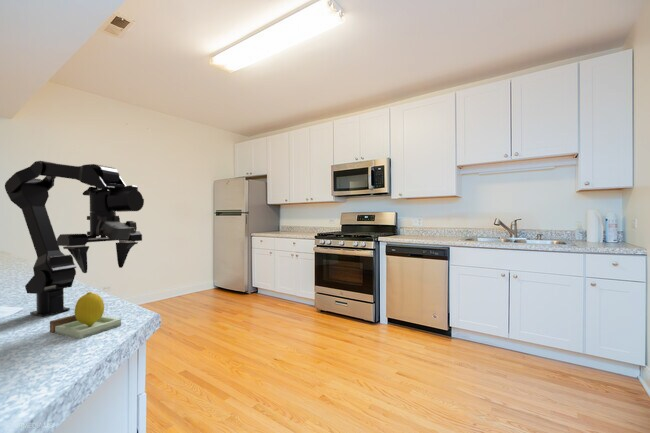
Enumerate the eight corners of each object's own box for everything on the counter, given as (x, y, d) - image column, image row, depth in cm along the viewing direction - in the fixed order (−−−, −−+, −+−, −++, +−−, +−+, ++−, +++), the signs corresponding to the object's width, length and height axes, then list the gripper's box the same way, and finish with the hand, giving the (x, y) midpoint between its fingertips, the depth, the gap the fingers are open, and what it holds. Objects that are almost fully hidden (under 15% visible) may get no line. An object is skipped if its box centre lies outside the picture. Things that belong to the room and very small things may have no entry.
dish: (55, 333, 71) (55, 326, 71) (97, 321, 79) (97, 315, 79) (79, 338, 67) (79, 331, 67) (121, 325, 75) (121, 319, 75)
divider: (49, 332, 71) (49, 321, 71) (96, 318, 81) (96, 309, 81) (52, 332, 71) (52, 321, 71) (99, 319, 80) (99, 309, 80)
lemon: (88, 331, 70) (87, 295, 70) (68, 329, 71) (68, 294, 71) (110, 322, 75) (109, 289, 75) (91, 321, 76) (90, 289, 76)
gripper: (82, 210, 72) (83, 278, 72) (155, 211, 90) (155, 266, 90) (55, 212, 77) (56, 275, 77) (129, 212, 94) (129, 264, 94)
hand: (103, 270), depth 84 cm, fingers open, 9 cm apart
